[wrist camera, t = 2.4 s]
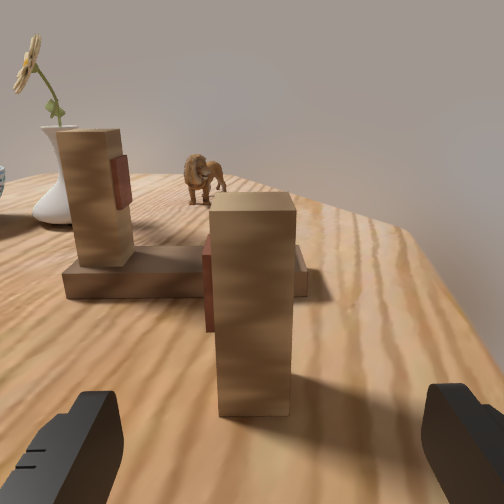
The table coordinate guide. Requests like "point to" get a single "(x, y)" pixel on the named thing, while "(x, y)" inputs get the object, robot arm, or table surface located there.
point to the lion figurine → (202, 176)
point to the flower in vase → (55, 200)
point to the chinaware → (2, 179)
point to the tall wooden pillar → (251, 299)
